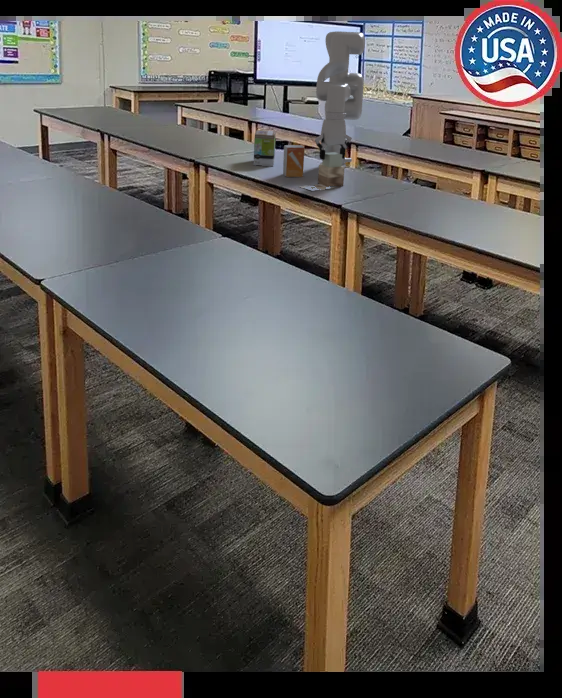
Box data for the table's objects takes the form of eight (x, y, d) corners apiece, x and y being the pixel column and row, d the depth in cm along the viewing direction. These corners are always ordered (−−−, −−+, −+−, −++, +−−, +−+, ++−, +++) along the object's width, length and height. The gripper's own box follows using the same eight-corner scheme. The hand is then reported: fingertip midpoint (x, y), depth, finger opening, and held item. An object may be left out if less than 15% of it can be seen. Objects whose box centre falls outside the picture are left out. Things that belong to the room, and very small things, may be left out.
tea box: (274, 166, 325) (275, 134, 319) (253, 165, 325) (253, 134, 319) (274, 161, 339) (275, 130, 332) (254, 160, 339) (255, 129, 332)
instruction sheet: (321, 184, 292) (321, 183, 292) (334, 188, 285) (334, 188, 285) (299, 187, 285) (299, 186, 285) (311, 191, 279) (311, 190, 279)
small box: (285, 177, 303) (287, 147, 298) (282, 174, 309) (283, 145, 303) (303, 177, 305) (304, 147, 299) (299, 174, 311) (301, 144, 305)
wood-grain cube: (333, 182, 297) (335, 163, 294) (343, 185, 291) (344, 167, 287) (317, 183, 294) (319, 164, 290) (327, 187, 287) (328, 168, 284)
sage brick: (334, 164, 292) (334, 152, 290) (341, 166, 288) (342, 154, 285) (322, 164, 290) (322, 152, 288) (329, 167, 285) (330, 155, 283)
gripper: (348, 114, 287) (345, 156, 294) (312, 115, 279) (310, 158, 287) (357, 117, 281) (354, 159, 288) (321, 118, 273) (318, 161, 281)
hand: (332, 158), depth 287 cm, fingers open, 9 cm apart
